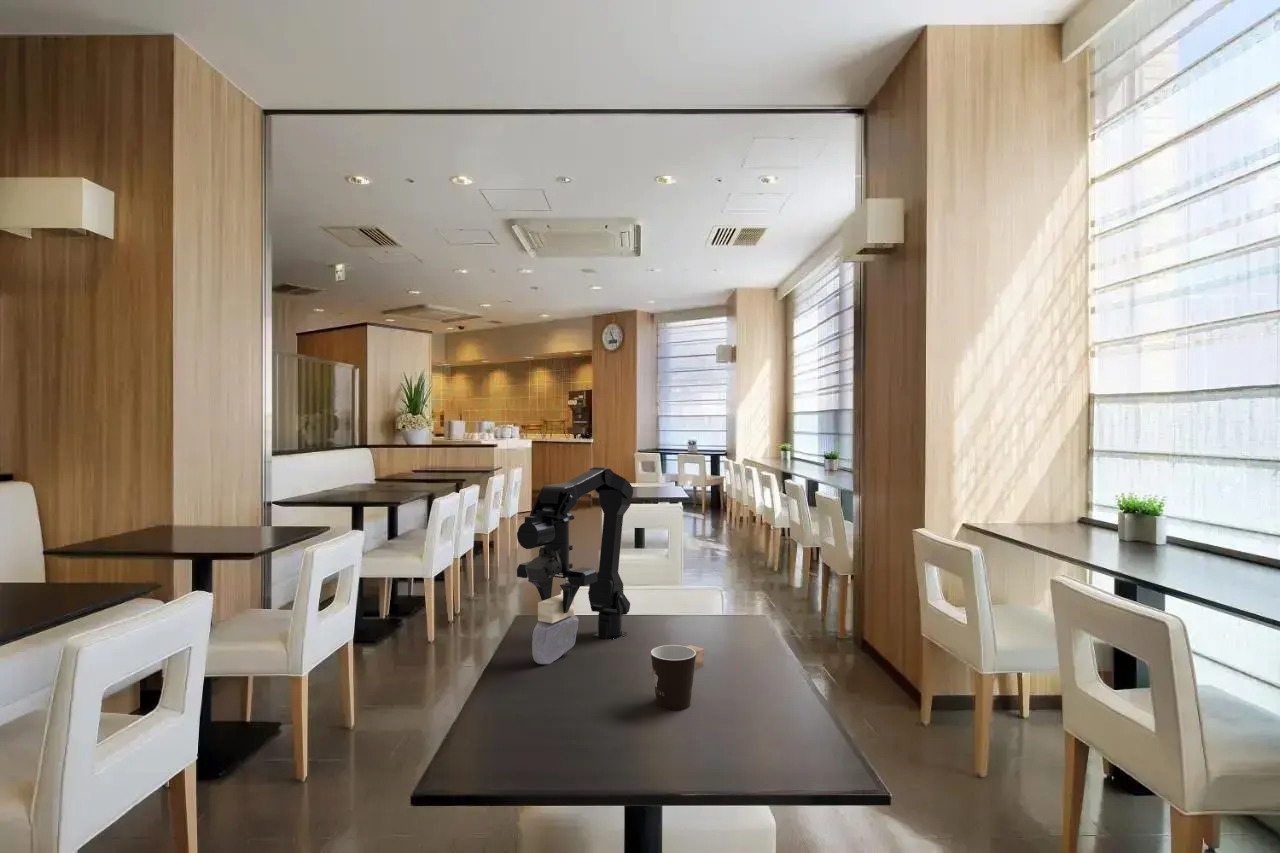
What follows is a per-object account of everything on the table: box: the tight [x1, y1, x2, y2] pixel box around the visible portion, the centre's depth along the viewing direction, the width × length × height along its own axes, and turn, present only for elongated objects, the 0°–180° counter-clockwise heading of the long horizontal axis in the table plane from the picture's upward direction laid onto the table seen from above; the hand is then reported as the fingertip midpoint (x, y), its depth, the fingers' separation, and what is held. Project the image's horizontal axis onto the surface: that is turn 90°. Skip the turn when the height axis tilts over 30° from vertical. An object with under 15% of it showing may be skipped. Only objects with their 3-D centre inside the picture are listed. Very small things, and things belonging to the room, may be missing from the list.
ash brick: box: [537, 594, 575, 623], centre depth 154 cm, size 8×4×4 cm, turn 150°
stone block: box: [531, 614, 580, 665], centre depth 154 cm, size 12×5×10 cm, turn 143°
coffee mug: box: [650, 644, 696, 712], centre depth 132 cm, size 12×9×10 cm
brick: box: [686, 644, 705, 671], centre depth 150 cm, size 8×4×4 cm, turn 138°
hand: (556, 611), depth 154 cm, fingers open, 5 cm apart
